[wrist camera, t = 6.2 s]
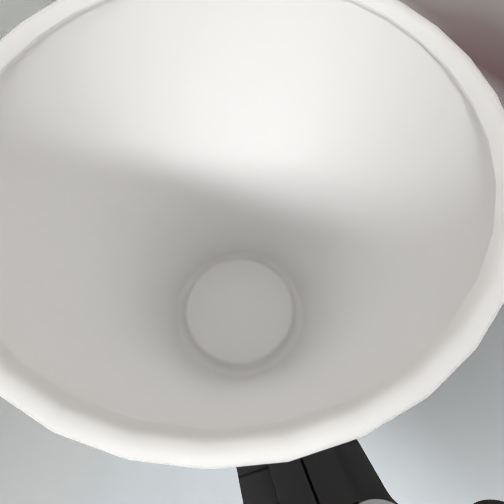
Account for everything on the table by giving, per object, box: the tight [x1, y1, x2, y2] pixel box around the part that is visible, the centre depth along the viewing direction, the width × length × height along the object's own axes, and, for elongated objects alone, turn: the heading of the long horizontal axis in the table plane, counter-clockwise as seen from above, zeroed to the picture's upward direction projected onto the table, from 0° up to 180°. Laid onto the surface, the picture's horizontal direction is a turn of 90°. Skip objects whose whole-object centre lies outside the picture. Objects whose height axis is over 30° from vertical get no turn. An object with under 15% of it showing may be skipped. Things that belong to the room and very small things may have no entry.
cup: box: [0, 0, 504, 470], centre depth 12 cm, size 10×10×11 cm
